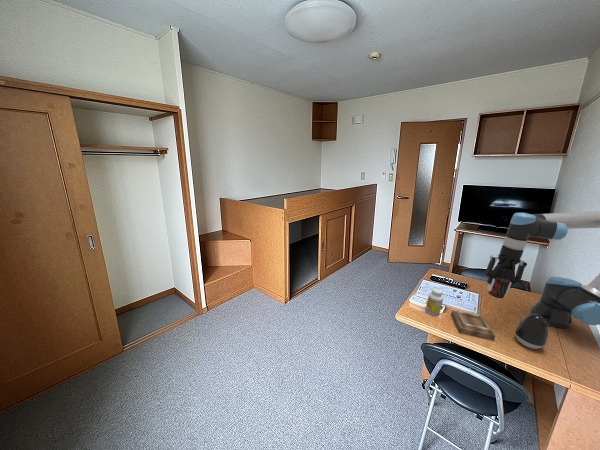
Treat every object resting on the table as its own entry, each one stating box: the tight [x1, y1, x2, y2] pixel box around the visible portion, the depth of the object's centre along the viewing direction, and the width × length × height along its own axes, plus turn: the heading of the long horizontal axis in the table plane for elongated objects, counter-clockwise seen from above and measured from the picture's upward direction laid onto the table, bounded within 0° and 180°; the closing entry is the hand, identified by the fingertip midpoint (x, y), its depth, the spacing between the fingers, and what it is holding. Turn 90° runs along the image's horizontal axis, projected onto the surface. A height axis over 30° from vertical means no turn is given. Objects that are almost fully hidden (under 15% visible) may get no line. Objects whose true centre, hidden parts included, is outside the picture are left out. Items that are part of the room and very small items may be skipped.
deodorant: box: [487, 266, 514, 299], centre depth 115 cm, size 6×6×15 cm
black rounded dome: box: [514, 313, 551, 350], centre depth 106 cm, size 10×10×15 cm
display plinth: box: [450, 310, 496, 341], centre depth 118 cm, size 14×14×4 cm
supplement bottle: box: [425, 287, 444, 316], centre depth 126 cm, size 7×7×13 cm
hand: (496, 291), depth 117 cm, fingers closed on deodorant, 6 cm apart
